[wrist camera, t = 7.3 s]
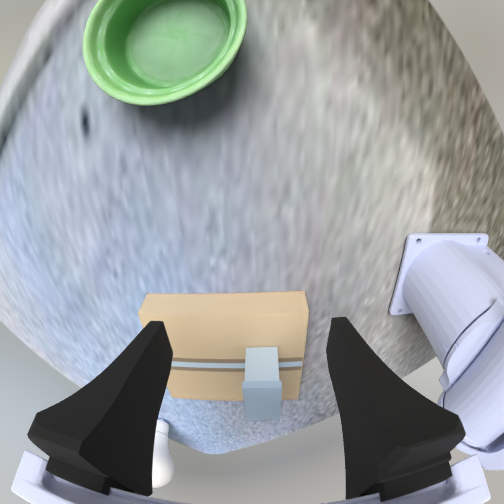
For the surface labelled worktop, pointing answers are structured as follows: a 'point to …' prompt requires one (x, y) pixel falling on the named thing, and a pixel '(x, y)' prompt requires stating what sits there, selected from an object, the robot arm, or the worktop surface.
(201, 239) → the worktop surface
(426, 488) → the robot arm
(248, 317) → the carton
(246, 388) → the tab
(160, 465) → the lightbulb
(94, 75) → the ramekin
